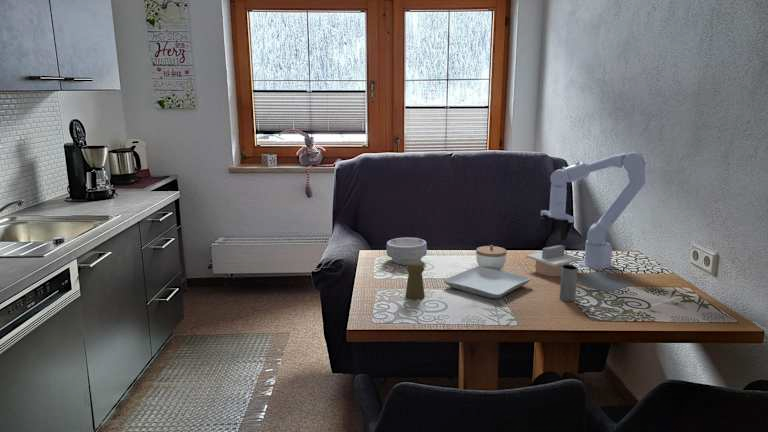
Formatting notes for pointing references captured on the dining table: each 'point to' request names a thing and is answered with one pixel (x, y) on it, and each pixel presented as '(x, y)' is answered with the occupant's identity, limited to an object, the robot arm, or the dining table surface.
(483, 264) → the lidded jar
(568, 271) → the planter
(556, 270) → the bowl
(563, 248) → the cover
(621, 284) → the mat
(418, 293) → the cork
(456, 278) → the salad plate
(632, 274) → the dining table surface
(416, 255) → the grey round bowl
